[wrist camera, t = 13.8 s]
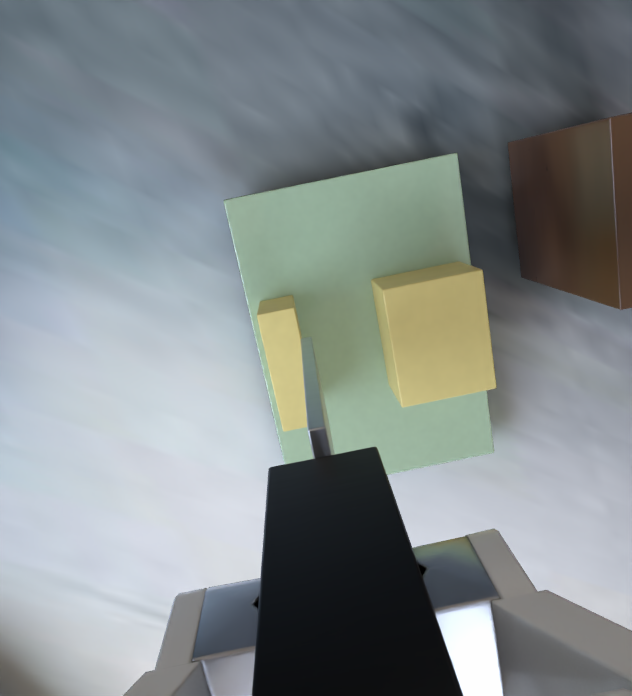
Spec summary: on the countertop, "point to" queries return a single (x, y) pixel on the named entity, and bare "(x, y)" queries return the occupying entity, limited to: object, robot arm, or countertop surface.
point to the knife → (342, 578)
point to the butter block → (435, 332)
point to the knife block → (576, 209)
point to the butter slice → (284, 358)
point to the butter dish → (360, 300)
